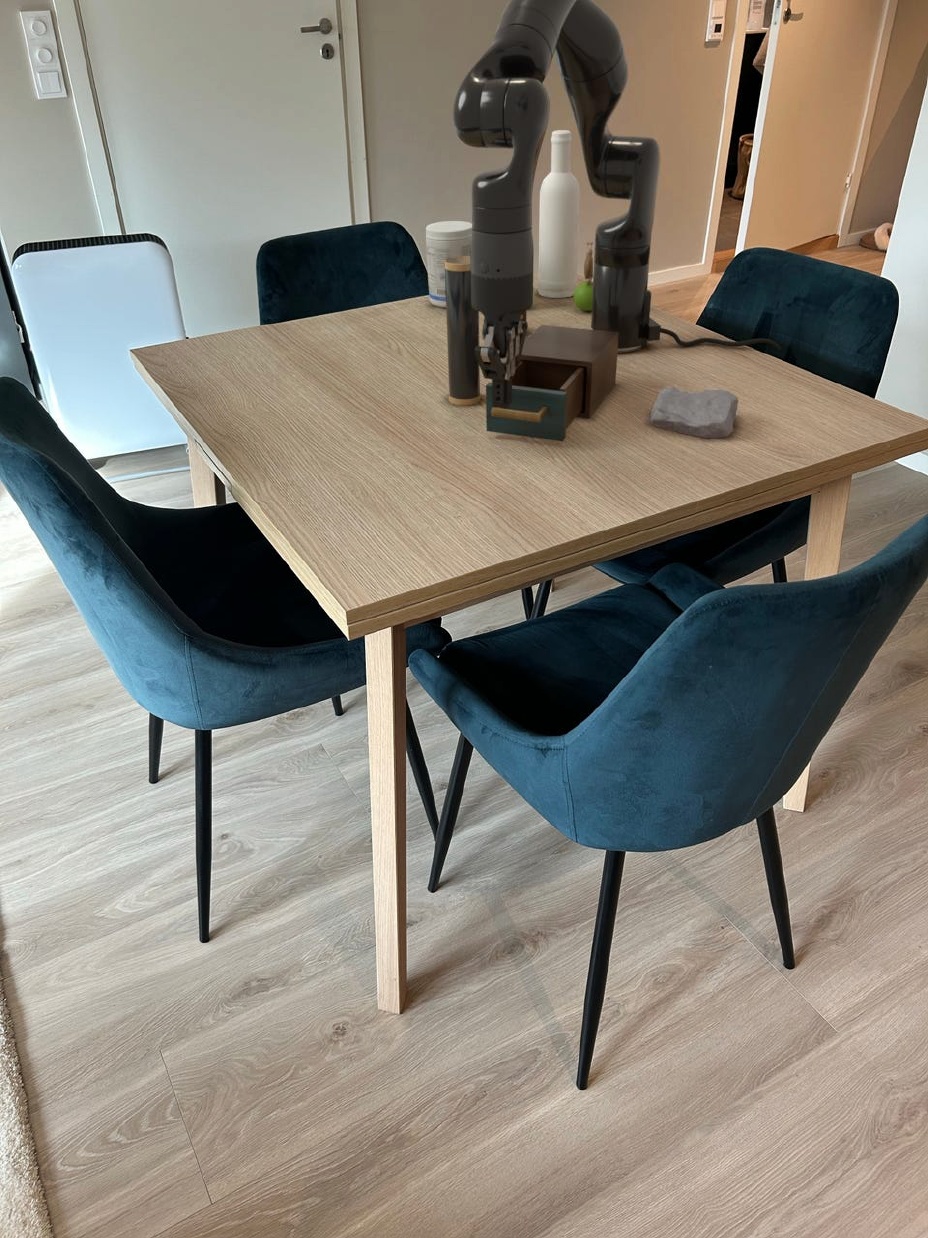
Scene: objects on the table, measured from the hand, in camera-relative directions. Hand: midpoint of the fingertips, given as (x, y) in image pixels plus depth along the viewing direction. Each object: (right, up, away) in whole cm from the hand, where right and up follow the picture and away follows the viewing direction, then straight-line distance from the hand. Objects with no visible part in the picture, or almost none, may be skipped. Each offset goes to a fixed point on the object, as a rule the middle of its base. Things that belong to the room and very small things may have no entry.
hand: (502, 405), depth 126 cm
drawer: (+5, +1, +15) cm, 16 cm away
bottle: (+14, +39, +74) cm, 85 cm away
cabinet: (+11, +7, +26) cm, 29 cm away
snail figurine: (+19, +32, +64) cm, 74 cm away
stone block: (+28, 0, +15) cm, 32 cm away
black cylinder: (-5, +6, +26) cm, 27 cm away
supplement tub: (-7, +36, +71) cm, 80 cm away
